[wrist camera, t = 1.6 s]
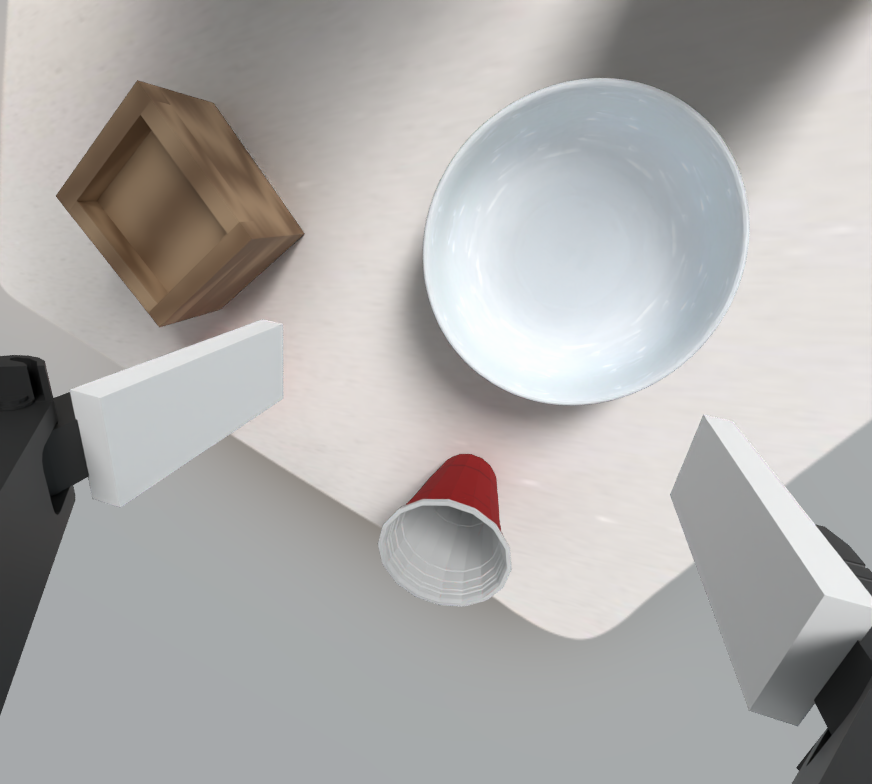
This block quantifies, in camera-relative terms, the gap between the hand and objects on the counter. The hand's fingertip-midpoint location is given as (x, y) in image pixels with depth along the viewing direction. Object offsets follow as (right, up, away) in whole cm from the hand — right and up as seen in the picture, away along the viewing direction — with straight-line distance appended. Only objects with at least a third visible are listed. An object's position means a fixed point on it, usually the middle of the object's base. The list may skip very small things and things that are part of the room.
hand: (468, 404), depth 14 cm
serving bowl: (+10, +12, +22) cm, 27 cm away
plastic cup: (+3, -8, +33) cm, 34 cm away
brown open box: (-22, +17, +29) cm, 40 cm away
